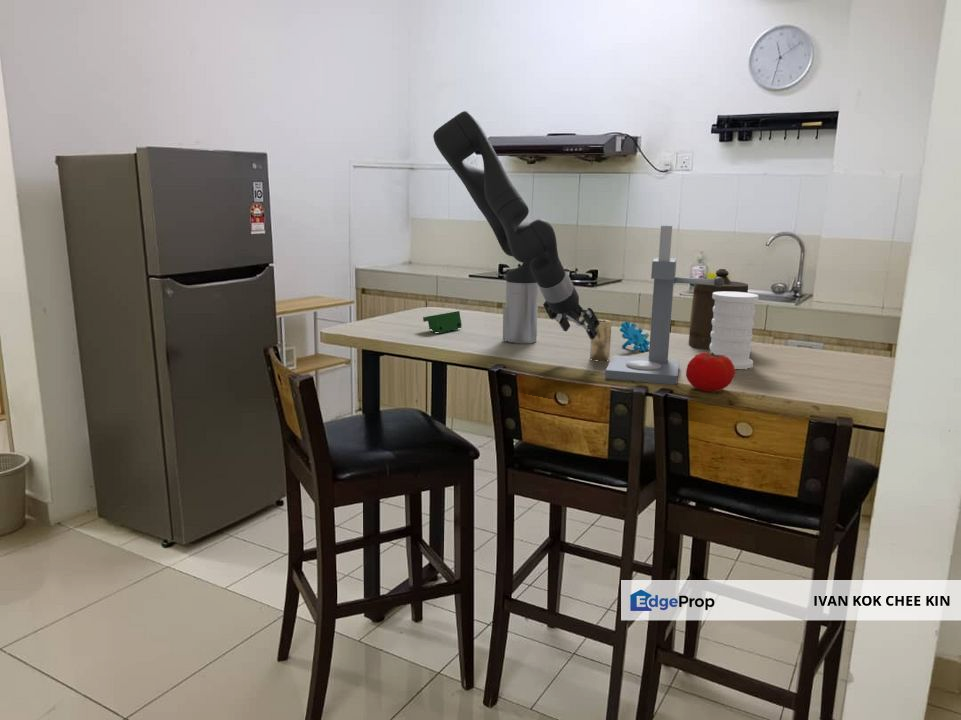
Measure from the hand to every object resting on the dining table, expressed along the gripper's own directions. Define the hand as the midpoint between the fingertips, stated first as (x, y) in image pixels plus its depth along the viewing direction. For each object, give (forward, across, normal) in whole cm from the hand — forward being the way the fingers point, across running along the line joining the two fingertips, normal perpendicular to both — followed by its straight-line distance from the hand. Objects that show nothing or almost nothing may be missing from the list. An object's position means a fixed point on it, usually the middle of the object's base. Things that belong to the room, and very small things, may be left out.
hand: (580, 332), depth 184 cm
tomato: (+3, +37, -3) cm, 37 cm away
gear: (+22, +2, +12) cm, 25 cm away
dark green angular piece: (+10, -53, -8) cm, 55 cm away
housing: (+10, +3, 0) cm, 10 cm away
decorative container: (+22, +28, +16) cm, 39 cm away
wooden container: (+36, +14, +30) cm, 49 cm away
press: (+6, +22, -1) cm, 23 cm away
